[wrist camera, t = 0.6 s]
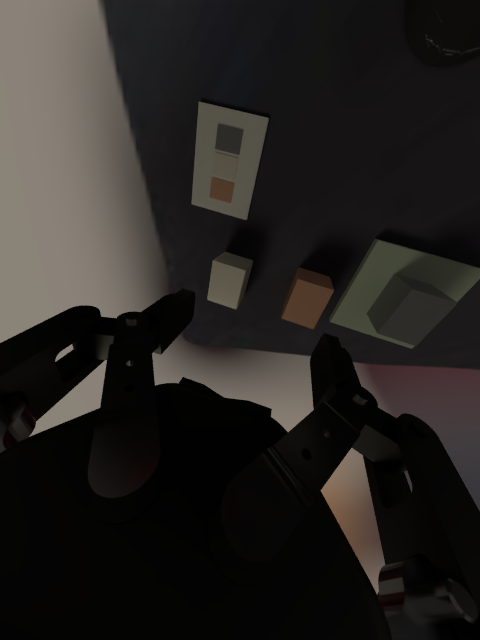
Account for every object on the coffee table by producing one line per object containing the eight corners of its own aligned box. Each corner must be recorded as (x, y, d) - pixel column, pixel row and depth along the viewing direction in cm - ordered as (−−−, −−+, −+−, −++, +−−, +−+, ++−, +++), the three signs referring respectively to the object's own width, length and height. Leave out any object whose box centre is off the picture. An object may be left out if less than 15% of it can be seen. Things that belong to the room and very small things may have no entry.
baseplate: (375, 238, 24) (394, 249, 19) (479, 267, 23) (529, 288, 18) (329, 317, 31) (334, 341, 26) (408, 343, 30) (429, 373, 25)
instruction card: (200, 102, 22) (198, 101, 22) (269, 118, 21) (268, 117, 21) (192, 204, 28) (191, 204, 27) (246, 219, 27) (246, 220, 27)
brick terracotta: (298, 266, 29) (297, 279, 24) (329, 276, 28) (334, 290, 24) (284, 302, 32) (281, 318, 28) (311, 311, 31) (313, 329, 27)
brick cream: (225, 251, 30) (213, 260, 26) (253, 260, 30) (245, 270, 26) (219, 287, 34) (207, 299, 29) (244, 295, 33) (236, 309, 29)
